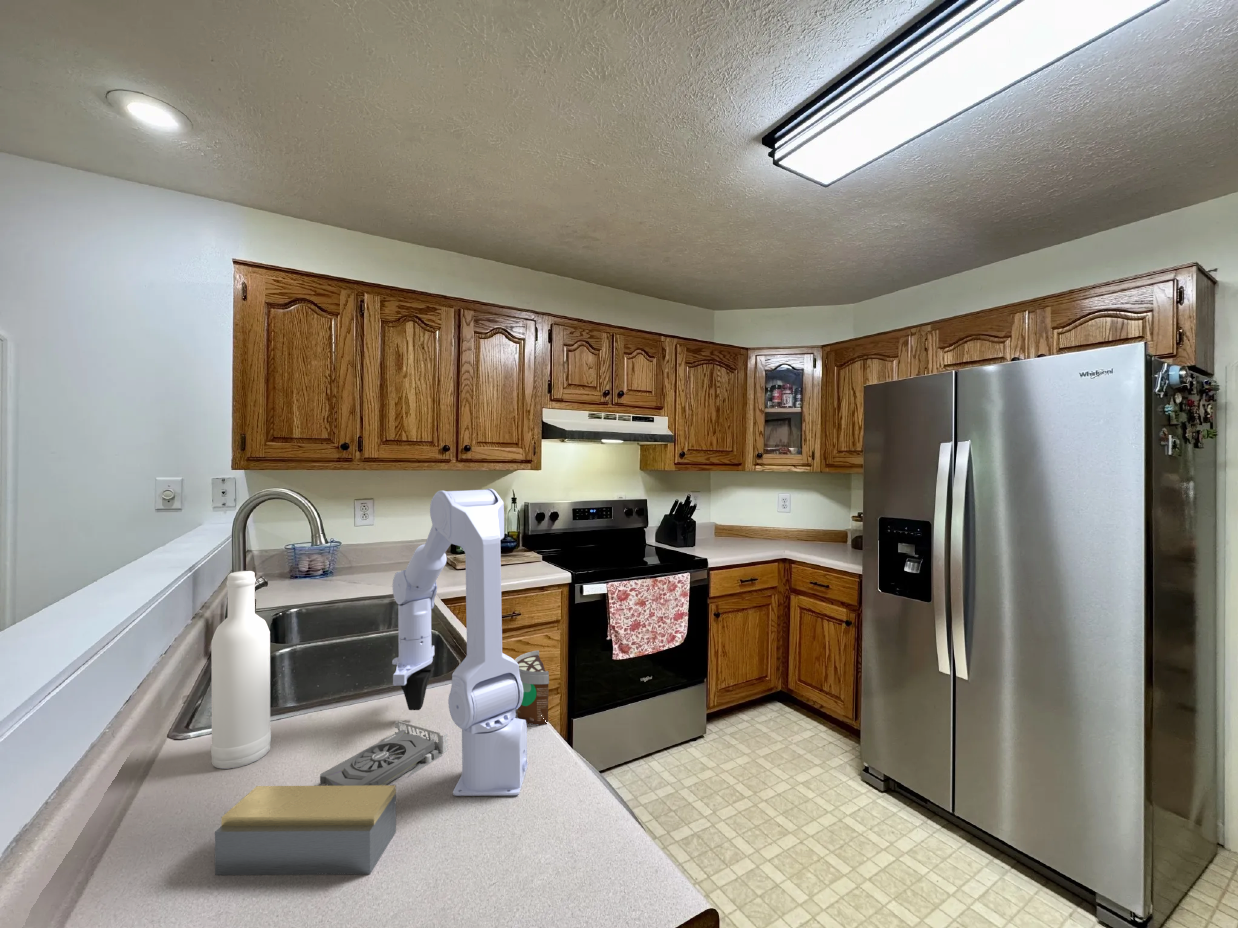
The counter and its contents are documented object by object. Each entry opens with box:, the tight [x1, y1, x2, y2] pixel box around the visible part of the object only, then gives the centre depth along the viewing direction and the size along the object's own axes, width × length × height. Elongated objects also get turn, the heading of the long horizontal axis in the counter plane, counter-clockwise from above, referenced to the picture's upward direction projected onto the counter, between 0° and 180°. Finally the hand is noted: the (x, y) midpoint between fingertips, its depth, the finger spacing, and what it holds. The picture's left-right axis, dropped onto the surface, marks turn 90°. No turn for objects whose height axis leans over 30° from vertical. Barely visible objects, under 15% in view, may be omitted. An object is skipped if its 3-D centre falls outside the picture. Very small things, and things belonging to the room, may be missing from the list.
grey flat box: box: [214, 784, 397, 876], centre depth 64 cm, size 18×7×6 cm, turn 90°
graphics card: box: [319, 720, 449, 786], centre depth 82 cm, size 17×4×12 cm
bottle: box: [210, 570, 272, 770], centre depth 86 cm, size 8×8×30 cm
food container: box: [514, 650, 550, 726], centre depth 99 cm, size 12×6×10 cm, turn 17°
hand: (415, 708), depth 97 cm, fingers closed
